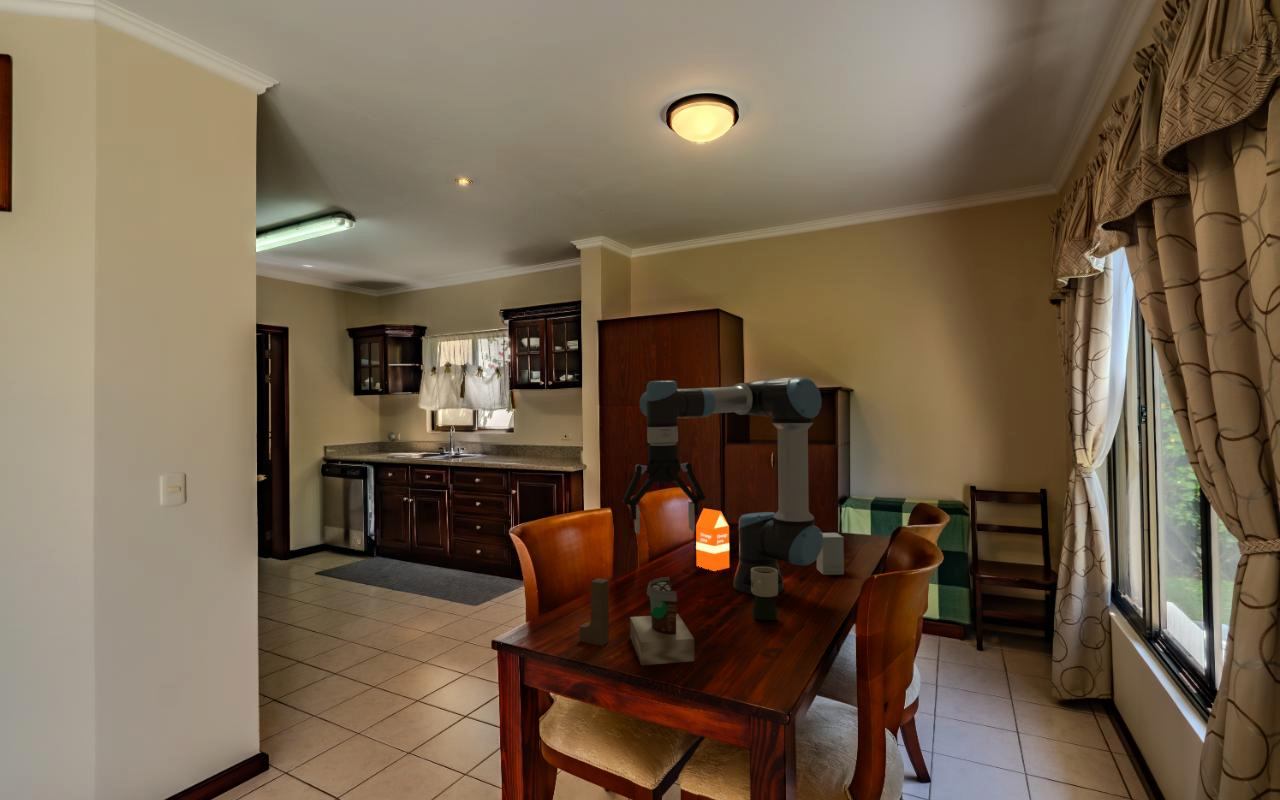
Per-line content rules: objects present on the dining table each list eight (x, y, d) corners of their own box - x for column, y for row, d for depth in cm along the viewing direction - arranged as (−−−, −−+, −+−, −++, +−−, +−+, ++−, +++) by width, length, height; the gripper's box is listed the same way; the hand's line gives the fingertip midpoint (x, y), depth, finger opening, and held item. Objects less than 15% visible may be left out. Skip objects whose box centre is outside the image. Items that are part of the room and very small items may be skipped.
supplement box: (844, 575, 200) (844, 537, 200) (822, 575, 200) (821, 537, 200) (837, 569, 207) (837, 532, 207) (816, 569, 207) (815, 532, 207)
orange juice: (711, 562, 217) (710, 506, 217) (729, 567, 210) (729, 510, 210) (696, 566, 212) (695, 509, 212) (714, 571, 205) (713, 512, 205)
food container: (644, 618, 147) (644, 577, 147) (669, 617, 147) (669, 576, 147) (649, 638, 134) (649, 593, 134) (677, 636, 135) (676, 592, 135)
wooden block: (609, 641, 145) (608, 579, 145) (602, 646, 142) (602, 583, 142) (586, 637, 148) (585, 576, 148) (579, 641, 145) (578, 579, 145)
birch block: (678, 634, 150) (677, 613, 150) (694, 661, 134) (694, 638, 134) (630, 637, 148) (630, 617, 148) (641, 665, 132) (641, 642, 132)
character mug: (758, 610, 166) (757, 563, 166) (783, 614, 163) (783, 566, 163) (745, 623, 156) (744, 573, 157) (771, 628, 153) (771, 576, 153)
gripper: (614, 447, 140) (616, 537, 140) (716, 443, 145) (718, 530, 145) (610, 444, 148) (612, 530, 148) (707, 441, 152) (709, 524, 152)
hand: (664, 531), depth 146 cm, fingers open, 13 cm apart
